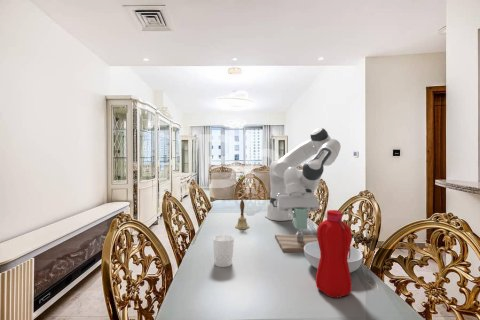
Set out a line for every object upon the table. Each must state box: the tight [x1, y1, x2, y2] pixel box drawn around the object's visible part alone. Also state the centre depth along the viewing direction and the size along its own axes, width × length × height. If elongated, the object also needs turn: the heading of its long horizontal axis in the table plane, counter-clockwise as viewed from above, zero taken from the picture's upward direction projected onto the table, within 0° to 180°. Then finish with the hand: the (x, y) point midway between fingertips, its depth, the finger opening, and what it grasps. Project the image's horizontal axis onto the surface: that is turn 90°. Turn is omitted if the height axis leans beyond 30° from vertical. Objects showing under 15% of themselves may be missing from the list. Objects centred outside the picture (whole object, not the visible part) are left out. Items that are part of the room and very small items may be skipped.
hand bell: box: [235, 199, 250, 230], centre depth 153 cm, size 8×8×16 cm
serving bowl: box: [303, 241, 364, 274], centre depth 98 cm, size 21×21×7 cm
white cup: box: [212, 234, 235, 268], centre depth 101 cm, size 8×8×10 cm
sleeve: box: [293, 208, 308, 230], centre depth 124 cm, size 5×5×9 cm
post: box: [295, 229, 304, 242], centre depth 124 cm, size 3×3×5 cm
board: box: [274, 234, 318, 253], centre depth 124 cm, size 20×20×2 cm
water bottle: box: [315, 209, 353, 298], centre depth 80 cm, size 9×11×25 cm
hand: (300, 217), depth 124 cm, fingers closed on sleeve, 5 cm apart
